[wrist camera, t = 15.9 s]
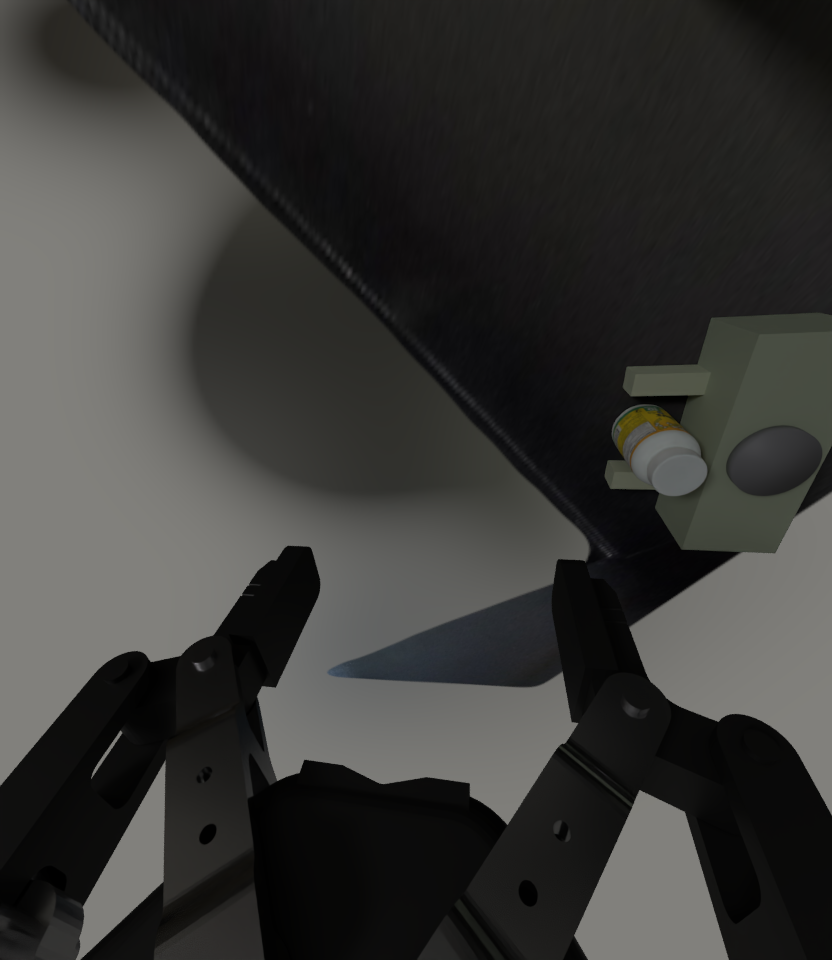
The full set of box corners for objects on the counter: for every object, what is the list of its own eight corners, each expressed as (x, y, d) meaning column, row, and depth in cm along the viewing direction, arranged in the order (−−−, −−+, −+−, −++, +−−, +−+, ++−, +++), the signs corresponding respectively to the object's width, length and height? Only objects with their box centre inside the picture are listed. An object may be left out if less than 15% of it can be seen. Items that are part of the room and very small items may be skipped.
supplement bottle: (599, 429, 40) (627, 477, 32) (645, 391, 38) (689, 432, 30) (634, 460, 41) (670, 514, 33) (681, 425, 39) (732, 474, 31)
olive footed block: (636, 321, 35) (672, 341, 28) (818, 312, 32) (906, 331, 26) (598, 506, 45) (618, 553, 38) (735, 509, 43) (781, 560, 36)
